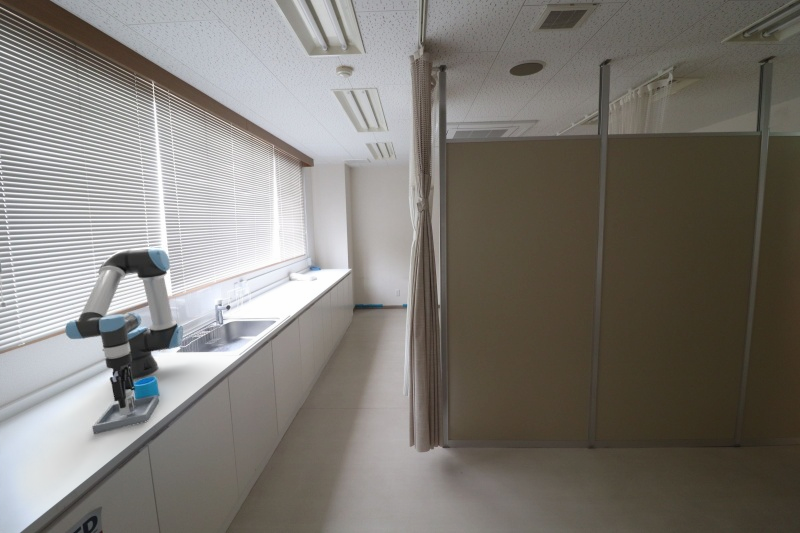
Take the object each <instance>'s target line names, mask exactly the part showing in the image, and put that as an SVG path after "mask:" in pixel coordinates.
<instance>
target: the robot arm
mask: <svg viewBox="0 0 800 533" xmlns="http://www.w3.org/2000/svg"><path fill="white" fill-rule="evenodd" d="M170 264H171V263H170V258H169V256H168V254H167V253H166V251H165V250H164V249H162V248H160V247H146V248H133V249H123V250H119V251H117V252H115V253H114V254H112V255H111V256H109V257H108V258H107V259H106V260H104V262H103V263H102V264H101V265H100V267H99V269H98V278H97V280H96V282H95V284H94V287H93V289H92V291H91V292H90V295H89V296H88V299H87V301H86V304H85V305H84V307H83V309H82V311H81V314H80V315H79V317H78V319H73V320H70V321H69V322H67V323H66V324H65V328H64V330H65V334H66V336H67V337H68V338H69V339H70V340H79V339H83V340H84V339H87V338H89V339H90V338H96V337H101V343H102V349H101V351H103V352H104V353H103V354H104V357H105V364H106V365H105V366H106V367H107V369H112V376H111V377H109V381H110V383H111V387H112V388H111V389H112V394H113V399H114V400H113V401H114V402H117V403H118V404H119V410H120V415H121V416H122V415H127V414H130V410H129V404H128V399H127V398H126V391H125V390H127V389H131V391H132V394H133V395H134V390H135V388H133V387H134V379H137V378H141V377H144V376H147V375H149V374H152V373H154V372H155V371H157V370H158V368H159V366H158V362H157V361H156V359H155V358H154V356H153V354H152V352H155V351H156V352H158V351H164V350H171V349H175V348H178V347H180V346H181V344H182V343H183V338H184V337H183V336H184V329H183V328H184V327H183V325H181V324H178V322H177V320H175V319H173V315H172V310H171V304H170V300H169V299H170V298H169V294H168V290H167V284H166V280H165V277H166V275H167V274H168V271H169V270H170V267H171V265H170ZM128 274H129V275H130V274H137V278H138V279H140V280H142V282H143V283H142V284H143V287H144V291H145V296H146V300H147V304H148V305H147V306H148V310H149V313H150V317H151V322H152V323H151V325H150V326H149V327H148V326H146V325H145V326H140V325H141V323H142V318H141V316H140V315H139V313H136V312H134V311H133V312H132V311H130V312H129V311H127V312H125V313H123V314H117V313H116V314H110V315H107V313H108V312H109V309H110V307H111V305H112V301H113V299H114V297H115V294H116V292H117V290H118V287H119V285H120V282H121V280H124V279H125V278H126V276H127V275H128Z"/></svg>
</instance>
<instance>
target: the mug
mask: <svg viewBox="0 0 800 533" xmlns="http://www.w3.org/2000/svg"><path fill="white" fill-rule="evenodd" d="M133 382H134V381H133ZM133 388H135V390H133V395H134V400H135V399H139V398H144V397H149V396H154V395H158V397H160V392H159V390H160V389H159V385H158V379H157V377H156V376H147V377H144V378H141V379H138V380H136V381H135V382H134V387H133Z"/></svg>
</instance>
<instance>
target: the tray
mask: <svg viewBox="0 0 800 533" xmlns="http://www.w3.org/2000/svg"><path fill="white" fill-rule="evenodd" d="M159 397H160V396H159ZM159 397H158V395H154V396H149V397H144V398H139V399H135V398H134V401H135V407H136V409H135V410H134V411H133V412H131V413H130V414H127V415H122V416H121V415H120V410H119V404H118V402H117V403H116V402H114V403H111V404H109V406H108V407H107V409H106V410H105V411H104V412H103V413H102V415H101V416H99V418H98V419H97V420H96V422H94V424H92V432H93V434H94V435H95V434H100V433H103V432H108V431H112V430H117V429H120V428H124V427H129V426H134V425H133V424H135V425H138V424H137V423H139V424H142V423H141V422H143V423H146V422H145V421H147V420H148V421H149V419H150V417H151V416H150V415H152V414H153V412H154V411H155V409H156V408H157V405H159V402H160V398H159ZM148 421H147V422H148Z"/></svg>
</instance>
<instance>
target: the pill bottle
mask: <svg viewBox="0 0 800 533" xmlns="http://www.w3.org/2000/svg"><path fill="white" fill-rule="evenodd" d="M125 391H126V398H127V399H128V404H129V410H130V413H131V412H133V411H134V410H135V409H136V407H135V401H134V400H135V395H134V393H133V394H132V391H133V390H132V391H131V389H127V390H125Z"/></svg>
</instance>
